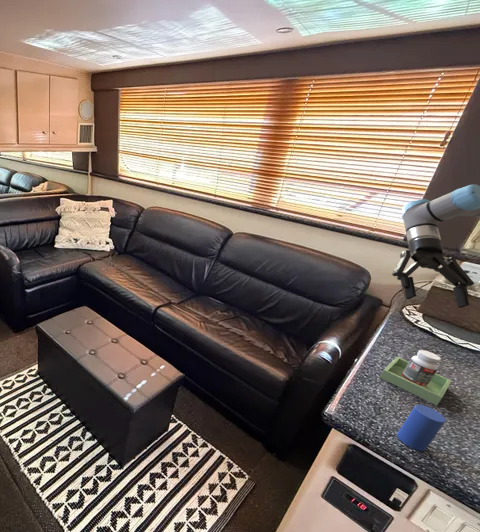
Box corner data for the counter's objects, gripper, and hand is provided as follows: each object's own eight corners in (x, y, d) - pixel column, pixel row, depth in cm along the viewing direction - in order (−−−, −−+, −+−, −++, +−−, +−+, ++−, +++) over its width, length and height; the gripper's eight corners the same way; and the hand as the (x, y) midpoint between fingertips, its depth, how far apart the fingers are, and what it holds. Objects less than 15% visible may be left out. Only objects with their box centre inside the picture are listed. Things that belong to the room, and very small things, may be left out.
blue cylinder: (427, 445, 75) (447, 416, 71) (422, 454, 72) (443, 425, 69) (399, 429, 78) (417, 401, 75) (394, 438, 76) (412, 409, 72)
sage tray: (446, 388, 96) (451, 380, 95) (436, 405, 88) (442, 397, 87) (392, 363, 106) (397, 356, 104) (379, 377, 97) (383, 369, 96)
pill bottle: (416, 388, 94) (433, 361, 90) (395, 375, 99) (411, 348, 95) (431, 387, 95) (448, 360, 91) (410, 374, 100) (426, 348, 96)
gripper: (457, 253, 106) (473, 313, 98) (373, 241, 111) (381, 297, 103) (481, 243, 100) (499, 306, 91) (389, 230, 104) (399, 289, 96)
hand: (436, 301), depth 97 cm, fingers open, 13 cm apart
